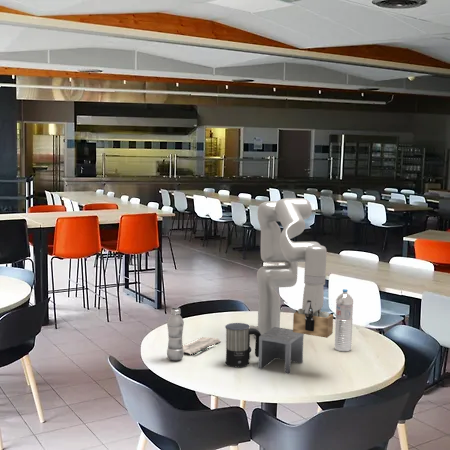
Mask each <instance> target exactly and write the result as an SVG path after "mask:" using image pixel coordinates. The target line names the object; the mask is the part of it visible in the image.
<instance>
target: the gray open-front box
mask: <svg viewBox="0 0 450 450" xmlns="http://www.w3.org/2000/svg"><path fill="white" fill-rule="evenodd" d="M304 335H305V334H301V333H295V332H293V328H292V329H291V328H285V327H284V328H283V327H280V328H278V327H274V328H272V329H270V330H269V331H267V332H266V333H264V334H262V335H261V336H259V357H258V366H257V368H258V369H259V370H262V369H263V368H265V367H267V366H268V365H269V364H270V363H272V362H273V361H275V360H280V361H284V374H286V375H289V374H291V367H292V366H291V364H292V362H294V363H298V364H299V363H300V364H303V362H304V337H305V336H304Z"/></svg>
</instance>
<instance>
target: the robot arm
mask: <svg viewBox="0 0 450 450" xmlns="http://www.w3.org/2000/svg"><path fill="white" fill-rule="evenodd" d="M312 213H313V212H312V205H311V203H310V201H309V200H308V199H307V198H302V197H300V198H298V197H291V198H290V197H286V198H282V199H279V200H271V201H264V202H262V203H260V204H259V205H258V208H257V220H258V224H259V227H260V258H261V260H262V262H264V263H269V264H273V263H284V264H283V265H278V264H277V265H276V264H275V265H264V266H263V265H262V266H261V267H259V269H258V270H257V272H256V282H257V288H258V289H257V290H258V295H257V296H258V300H257V301H258V302H257V303H258V304H257V305H258V306H257V308H258V309H257V310H258V311H257V326H254V325H249V326H250V327H249V328H254V329H257V330H258V331H259V332H260V333H261V335H262V334H264V333H266V332H267V331H269V330H270V329H272V328H274V327H278V328H281V327H280V326H281V325H280V324H281V296H280V294H279V293H278V292H277V290H276V289H278V288H292V287H294V286H295V285H296V284H297V281H298V264H299V263H304V275H303V276H304V277H303V283H304V287H303V297H302V306H301V307H302V308H301V309H302V310H303V311H305V316H306V317H305V330H308V331H314V320H313V319H314V313H315V312H316V311H318V313H319V312H322V309H323V306H324V296H325V295H324V291H325V289H324V286H325V285H326V275H327V274H326V272H327V254H328V253H327V248H326V246H324V245H321V244H320V243H319V242H318V241H293V240H291V239H294V238H295V237H297V236H299V235H301V234H302V233H303V232H304V230H305V228H306V221H305V220H307V219H309V218H310V217H311V215H312ZM277 222H280V224H281V226H282V228H283V229H282V230H281V227H280V226H279V224H278V223H277ZM310 310H313V311H310ZM310 313H312V316H311V314H310ZM253 338H254V339H255V340H256V336H255V335H254V334H253Z"/></svg>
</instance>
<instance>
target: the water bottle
mask: <svg viewBox="0 0 450 450" xmlns="http://www.w3.org/2000/svg"><path fill="white" fill-rule="evenodd" d="M335 303H336V306H335V307H336V308H335V309H336V310H335V325H334V326H335V327H334V350H336V351H337V352H338V351H339V352H351V350H352V345H353V343H352V340H353V314H354V313H353V311H354V310H353V309H354V306H353V305H354V298H352V296H351V295H350V294H349V293H348V289H342V293H341V294H339V295H338V296H337V298H336V299H335Z"/></svg>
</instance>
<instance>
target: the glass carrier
mask: <svg viewBox="0 0 450 450" xmlns="http://www.w3.org/2000/svg"><path fill="white" fill-rule="evenodd" d="M310 311H313V310H310ZM310 314H311V316H312V313H310ZM305 317H306V316H305V311H303V310H302V308H299V309H298V310H297V311H295V312H294V313H293V319H292V320H293V322H292V323H293V324H292V330H293V332H295V333H301V334H304V335H308V336H314V337H319V338H320V337H321V338H326V339H328V338H329V337H330V336H331V335H333V329H334V326H333V325H334V314H332V313H329V312H328V311H321V312H319V313H318V311H316V312H315V313H314V319H313V320H314V331H308V330H305Z"/></svg>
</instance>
